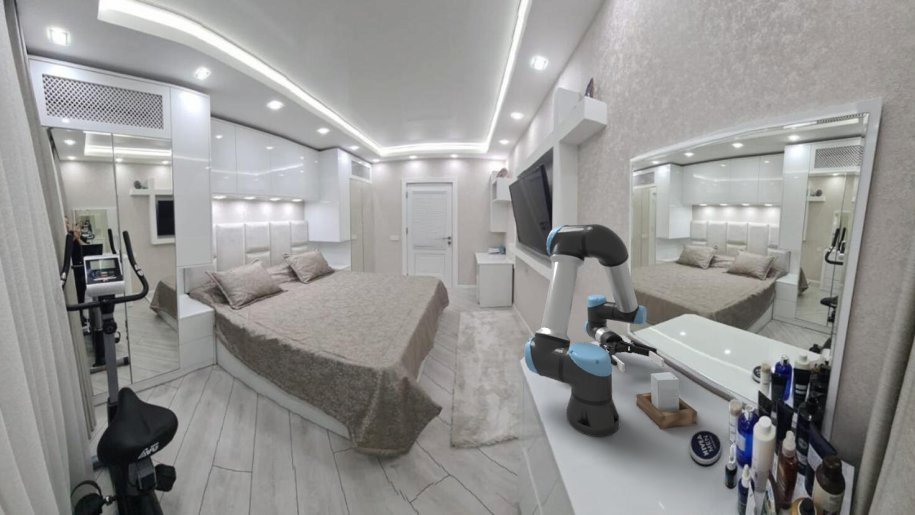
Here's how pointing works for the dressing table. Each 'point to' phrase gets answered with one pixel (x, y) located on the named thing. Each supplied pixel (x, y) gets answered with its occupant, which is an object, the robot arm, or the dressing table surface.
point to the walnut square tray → (667, 413)
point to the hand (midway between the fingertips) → (643, 365)
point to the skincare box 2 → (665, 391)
